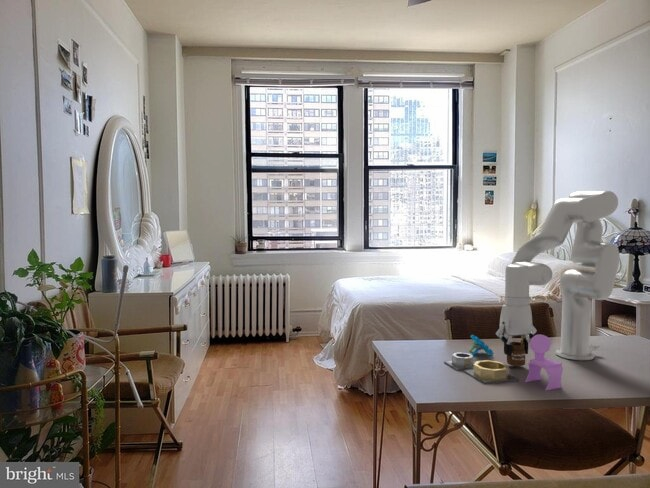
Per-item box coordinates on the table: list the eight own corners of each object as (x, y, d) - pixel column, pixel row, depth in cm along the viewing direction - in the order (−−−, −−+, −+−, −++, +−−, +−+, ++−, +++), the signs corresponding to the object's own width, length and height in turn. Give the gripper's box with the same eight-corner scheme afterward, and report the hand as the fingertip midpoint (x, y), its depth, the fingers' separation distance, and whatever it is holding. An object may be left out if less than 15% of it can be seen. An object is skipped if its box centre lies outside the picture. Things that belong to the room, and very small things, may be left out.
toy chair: (544, 391, 152) (546, 341, 151) (522, 382, 160) (524, 334, 159) (565, 387, 156) (567, 338, 155) (542, 378, 164) (544, 332, 163)
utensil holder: (503, 361, 178) (503, 327, 177) (520, 360, 179) (521, 326, 177) (511, 367, 172) (512, 331, 171) (529, 366, 173) (530, 330, 172)
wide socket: (495, 368, 173) (496, 358, 173) (518, 380, 161) (519, 369, 161) (464, 371, 170) (464, 361, 169) (485, 384, 158) (485, 372, 158)
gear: (499, 354, 184) (479, 334, 184) (487, 366, 183) (468, 346, 183) (486, 350, 195) (468, 331, 195) (476, 361, 194) (457, 342, 194)
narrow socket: (467, 360, 182) (467, 350, 182) (481, 368, 173) (481, 358, 173) (444, 362, 179) (444, 352, 179) (457, 370, 171) (457, 360, 170)
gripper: (531, 297, 179) (530, 348, 181) (487, 300, 175) (487, 353, 176) (546, 301, 172) (545, 354, 174) (501, 305, 167) (500, 359, 169)
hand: (516, 353), depth 175 cm, fingers closed on utensil holder, 5 cm apart
